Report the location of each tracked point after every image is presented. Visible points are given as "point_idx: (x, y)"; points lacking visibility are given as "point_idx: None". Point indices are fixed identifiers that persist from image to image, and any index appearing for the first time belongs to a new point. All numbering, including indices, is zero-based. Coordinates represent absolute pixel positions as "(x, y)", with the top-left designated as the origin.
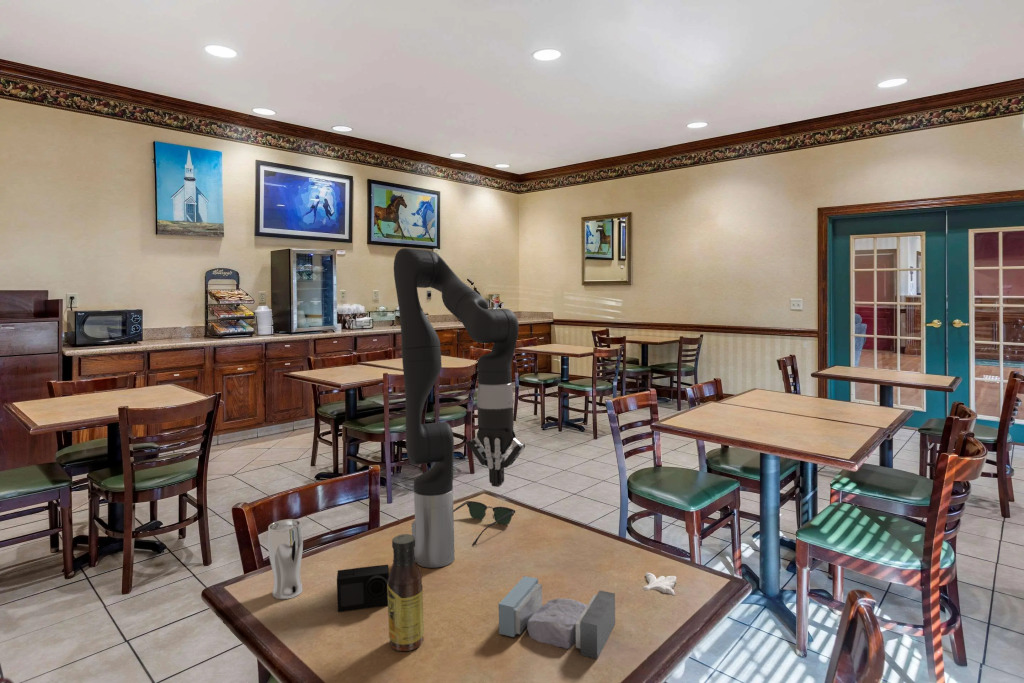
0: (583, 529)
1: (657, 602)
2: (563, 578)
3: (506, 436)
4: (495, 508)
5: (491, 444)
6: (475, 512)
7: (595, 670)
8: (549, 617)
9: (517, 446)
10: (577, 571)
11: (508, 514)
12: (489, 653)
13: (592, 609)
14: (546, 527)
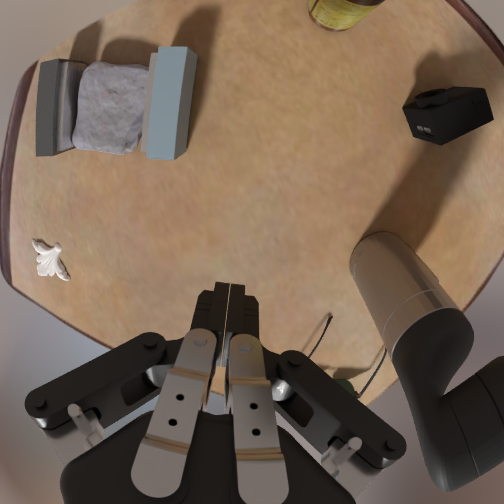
0: None
1: (39, 217)
2: (157, 248)
3: (94, 494)
4: None
5: (231, 460)
6: (344, 386)
7: (67, 45)
8: (115, 81)
9: (36, 412)
10: (146, 273)
11: None
12: (198, 15)
13: (49, 96)
14: None
